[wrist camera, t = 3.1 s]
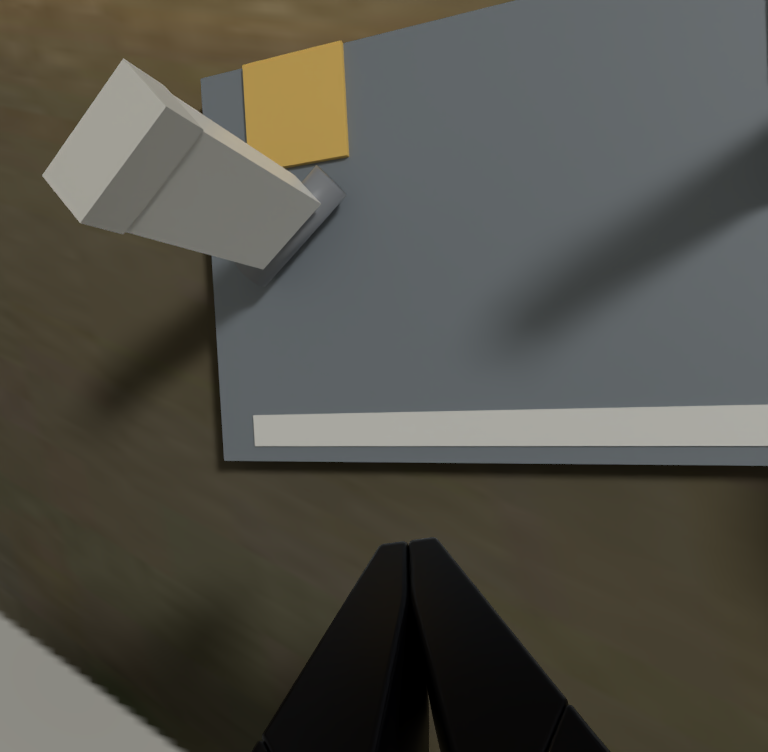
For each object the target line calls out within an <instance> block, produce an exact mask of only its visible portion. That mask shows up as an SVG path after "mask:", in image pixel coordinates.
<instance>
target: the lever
mask: <svg viewBox="0 0 768 752" xmlns="http://www.w3.org/2000/svg"><path fill="white" fill-rule="evenodd" d="M42 176H43V177H44V179H45V180H46V181H47V182H48V183H49V185H50V186H51V187H52V188H53V190H54V191H55V192H56V193H57V195H58V196H59V197H60V198H61V200H62V201H63V202H64V203H65V205H66V206H67V207H68V208H69V210H70V211H71V212H72V213H73V215H74V216H75V217H76V218H77V220H78V221H79V222H80V223H82V224H86V225H89V226H93V227H97V228H101V229H105V230H108V231H112V232H116V233H120V234H124V233H125V232H127V233H131V234H135V235H138V236H142V237H146V238H149V239H153V240H157V241H160V242H164V243H168V244H171V245H175V246H179V247H182V248H186V249H190V250H193V251H197V252H201V253H204V254H208V255H212V256H215V257H219V258H223V259H226V260H230V261H234V262H235V264H236V266H237V267H238V269H239V270H240V271H241V272H242V273H243V274H244V275H245V276H246V277H247V278H248V279H250V280H251V281H252V282H254V283H255V284H257V285H259V286H262V287H265V286H266V285H267V284H268V283H269V282H270V281H271V280H272V279H273V277H274V276H275V275H276V274H277V273H278V272H279V271H280V270H281V268H282V267H283V266H284V265H285V264H286V263H287V262H288V261H289V260H290V258H291V257H292V256H293V255H294V254H295V253H296V252H297V251H298V249H299V248H300V247H301V246H302V245H303V244H304V243H305V242H306V240H307V239H308V238H309V237H310V236H311V235H312V234H313V233H314V231H315V230H316V229H317V228H318V227H319V226H320V225H321V224H322V223H323V221H324V220H325V219H326V218H327V217H328V216H329V215H330V214H331V212H332V211H333V210H334V209H335V208H336V207H337V206H338V205H339V203H340V202H341V201H342V200H343V199H344V198H345V197H346V196H347V195H346V193H345V192H344V191H343V190H342V189H341V187H340V186H339V185H338V184H337V183H336V182H335V181H334V180H333V179H332V178H331V177H330V176H329V175H328V174H326V173H325V172H324V171H323V170H322V169H321V168H320V167H318V166H317V165H316V166H315V167H314V169H313V170H312V171H311V172H310V173H309V174H308V176H307V177H306V178H305V179H304V180H303V181H302V183H301V181H300V180H299V179H298V178H297V177H296V176H295V175H294V174H292V173H291V172H289V171H288V170H286V169H285V168H283V167H281V166H280V165H278V164H277V163H275V162H274V161H272V160H271V159H269V158H268V157H266V156H265V155H263V154H262V153H260V152H259V151H257V150H256V149H254V148H253V147H251V146H250V145H248V144H247V143H245V142H244V141H242V140H241V139H239V138H238V137H236V136H235V135H233V134H232V133H230V132H229V131H227V130H226V129H224V128H222V127H221V126H219V125H218V124H216V123H215V122H213V121H212V120H210V119H209V118H207V117H206V116H204V115H203V114H201V113H200V112H198V111H197V110H195V109H194V108H192V107H191V106H189V105H188V104H186V103H185V102H183V101H182V100H180V99H179V98H177V97H176V96H174V95H173V94H171V93H170V92H169V90H168V89H167V88H166V87H165V86H164V85H162V84H161V83H159V82H158V81H156V80H155V79H153V78H152V77H150V76H149V75H147V74H146V73H144V72H143V71H141V70H140V69H138V68H137V67H135V66H134V65H132V64H131V63H130V62H128V61H127V60H125V59H124V58H123V60H122V61H121V63H120V64H119V65H118V67H117V68H116V70H115V71H114V73H113V74H112V76H111V77H110V78H109V80H108V81H107V83H106V84H105V86H104V87H103V89H102V90H101V91H100V93H99V94H98V96H97V97H96V99H95V100H94V102H93V103H92V104H91V106H90V107H89V109H88V110H87V112H86V113H85V114H84V116H83V117H82V119H81V120H80V122H79V123H78V125H77V126H76V127H75V129H74V130H73V132H72V133H71V135H70V136H69V138H68V139H67V140H66V142H65V143H64V145H63V146H62V148H61V149H60V151H59V152H58V153H57V155H56V156H55V158H54V159H53V161H52V162H51V164H50V165H49V166H48V168H47V169H46V171H45V172H44V174H43V175H42Z"/></svg>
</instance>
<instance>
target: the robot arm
mask: <svg viewBox="0 0 768 752" xmlns="http://www.w3.org/2000/svg"><path fill="white" fill-rule="evenodd" d="M428 695H429V700H430V705H431V710H432V715H433V721H434V725H435V730H436V734H437V739H438V743H439V747H440V752H610V750H609V749H608V748H607V747H606V746H605V745H604V744H603V742H602V741H601V740H600V739H599V738H598V737H597V735H596V734H595V733H594V732H593V731H592V729H591V728H590V727H589V726H588V724H587V723H586V722H585V721H584V719H583V718H582V717H581V716H580V714H579V713H578V712H577V711H576V710H575V708H574V707H573V706H572V705H568V701H567V699H566V698H565V696H564V695H563V694H562V693H561V691H560V690H559V689H558V688H557V686H556V685H555V684H554V683H553V682H552V680H551V679H550V678H549V677H548V675H547V674H546V673H545V672H544V670H543V669H542V668H541V667H540V665H539V664H538V663H537V662H536V660H535V659H534V658H533V657H532V656H531V654H530V653H529V652H528V651H527V649H526V648H525V647H524V646H523V644H522V643H521V642H520V641H519V639H518V638H517V637H516V636H515V634H514V633H513V632H512V631H511V630H510V628H509V627H508V626H507V625H506V623H505V622H504V621H503V620H502V618H501V617H500V616H499V615H498V613H497V612H496V611H495V610H494V608H493V607H492V606H491V605H490V603H489V602H488V601H487V600H486V599H485V597H484V596H483V595H482V594H481V592H480V591H479V590H478V589H477V587H476V586H475V585H474V584H473V582H472V581H471V580H470V579H469V577H468V576H467V575H466V574H465V573H464V571H463V570H462V569H461V568H460V566H459V565H458V564H457V563H456V561H455V560H454V559H453V558H452V556H451V555H450V554H449V553H448V551H447V550H446V549H445V548H444V547H443V545H442V544H441V543H440V542H439V540H438V539H436V538H434V537H431V538H424V539H416V540H412V541H410V543H409V546H408V544H407V543H406V542H404V541H402V542H394V543H387V544H382V545H381V546H379V547H378V549H377V550H376V552H375V554H374V555H373V557H372V559H371V560H370V562H369V563H368V565H367V567H366V568H365V570H364V571H363V573H362V575H361V576H360V578H359V580H358V581H357V583H356V584H355V586H354V588H353V589H352V591H351V592H350V594H349V596H348V597H347V599H346V601H345V602H344V604H343V605H342V607H341V609H340V610H339V612H338V613H337V615H336V617H335V618H334V620H333V621H332V623H331V625H330V626H329V628H328V630H327V631H326V633H325V634H324V636H323V638H322V639H321V641H320V642H319V644H318V646H317V647H316V649H315V651H314V652H313V654H312V655H311V657H310V659H309V660H308V662H307V663H306V665H305V667H304V668H303V670H302V672H301V673H300V675H299V676H298V678H297V680H296V681H295V683H294V684H293V686H292V688H291V689H290V691H289V693H288V694H287V696H286V697H285V699H284V701H283V702H282V704H281V705H280V707H279V709H278V710H277V712H276V714H275V715H274V717H273V718H272V720H271V722H270V723H269V725H268V726H267V728H266V730H265V731H264V733H263V735H262V740H263V741H258V742H257V744H256V745H255V747H254V748H253V750H252V752H429V701H428Z"/></svg>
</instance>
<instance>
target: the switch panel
mask: <svg viewBox="0 0 768 752" xmlns="http://www.w3.org/2000/svg"><path fill="white" fill-rule="evenodd" d="M201 93H202V109H203V115H204V116H206V117H207V118H209V119H210V120H212V121H213V122H215V123H216V124H218V125H219V126H221V127H222V128H224V129H226V130H227V131H229V132H230V133H232V134H233V135H235V136H236V137H238V138H239V139H241V140H242V141H244V142H245V143H247V144H248V145H250V146H251V147H253V148H254V149H256V150H257V151H259V152H260V153H262V154H263V155H265V156H266V157H268V158H269V159H271V160H272V161H274V162H275V163H277V164H278V165H280V166H281V167H283V168H285V169H286V170H288V171H289V172H291V173H292V174H294V175H295V176H296V177H297V178H298V179H299V180H300V181H301V183H302V181H303V180H304V179H305V178H306V177H307V176H308V174H309V173H310V172H311V171H312V170H313V169H314V167H315V166H316V165H317V166H318V167H320V168H321V169H322V170H323V171H324V172H325V173H326V174H328V175H329V176H330V177H331V178H332V179H333V180H334V181H335V182H336V183H337V184H338V185H339V186H340V187H341V189H342V190H343V191H344V192H345V193H346V195H347V196H346V197H345V198H344V199H343V200H342V201H341V202H340V203H339V205H338V206H337V207H336V208H335V209H334V210H333V211H332V212H331V214H330V215H329V216H328V217H327V218H326V219H325V220H324V221H323V223H322V224H321V225H320V226H319V227H318V228H317V229H316V230H315V231H314V233H313V234H312V235H311V236H310V237H309V238H308V239H307V240H306V242H305V243H304V244H303V245H302V246H301V247H300V248H299V249H298V251H297V252H296V253H295V254H294V255H293V256H292V257H291V258H290V260H289V261H288V262H287V263H286V264H285V265H284V266H283V267H282V268H281V270H280V271H279V272H278V273H277V274H276V275H275V276H274V277H273V279H272V280H271V281H270V282H269V283H268V284H267V285H266V286H265V287H262V286H259V285H257V284H255V283H254V282H252V281H251V280H250V279H248V278H247V277H246V276H245V275H244V274H243V273H242V272H241V271H240V270H239V269H238V267H237V266H236V264H235V262H234V261H230V260H226V259H223V258H219V257H215V256H212V272H213V288H214V304H215V320H216V337H217V353H218V369H219V385H220V402H221V418H222V434H223V450H224V461H299V462H408V463H516V464H625V465H734V466H768V0H515V1H511V2H507V3H503V4H499V5H495V6H491V7H487V8H483V9H479V10H475V11H471V12H467V13H463V14H459V15H455V16H451V17H447V18H443V19H439V20H435V21H431V22H427V23H423V24H419V25H415V26H411V27H407V28H403V29H399V30H395V31H391V32H387V33H383V34H379V35H375V36H371V37H367V38H363V39H359V40H355V41H351V42H347V43H343V42H342V41H341V40H340V41H336V42H332V43H328V44H324V45H320V46H316V47H312V48H308V49H304V50H300V51H296V52H292V53H288V54H284V55H281V56H277V57H273V58H269V59H265V60H261V61H257V62H253V63H249V64H245V65H242V69H238V70H234V71H230V72H226V73H222V74H218V75H214V76H210V77H206V78H202V79H201Z"/></svg>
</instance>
